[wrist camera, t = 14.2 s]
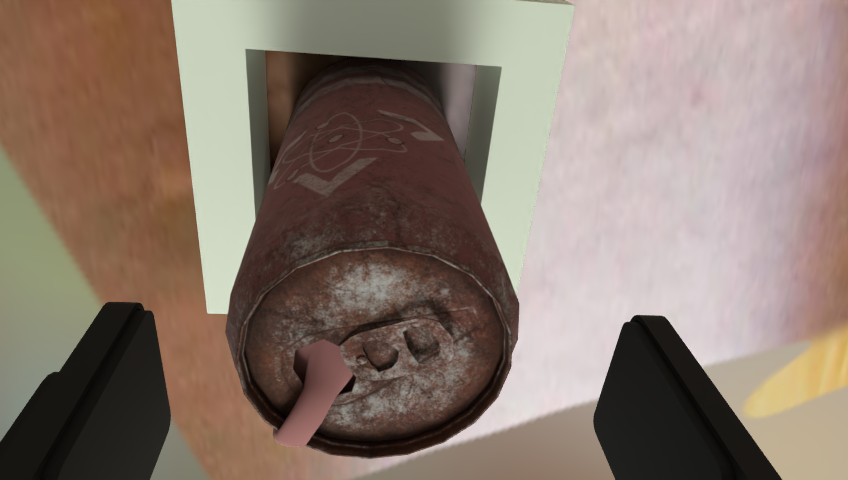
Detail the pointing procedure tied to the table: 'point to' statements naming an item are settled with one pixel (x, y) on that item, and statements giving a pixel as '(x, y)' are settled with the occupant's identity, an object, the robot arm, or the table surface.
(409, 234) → the can
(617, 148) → the table surface
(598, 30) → the table surface
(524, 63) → the pale green square frame
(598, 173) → the table surface
